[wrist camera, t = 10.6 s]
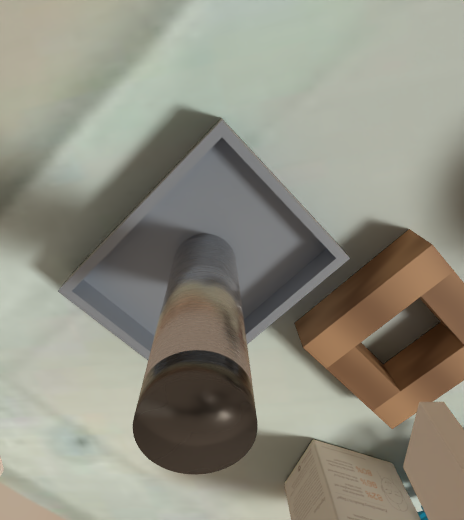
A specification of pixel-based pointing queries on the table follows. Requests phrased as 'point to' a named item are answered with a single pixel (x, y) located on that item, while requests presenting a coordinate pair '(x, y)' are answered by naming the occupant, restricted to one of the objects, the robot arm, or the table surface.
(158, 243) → the tray
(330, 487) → the small box
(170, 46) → the table surface
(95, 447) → the table surface
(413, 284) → the socket
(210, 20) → the table surface
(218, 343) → the pin
